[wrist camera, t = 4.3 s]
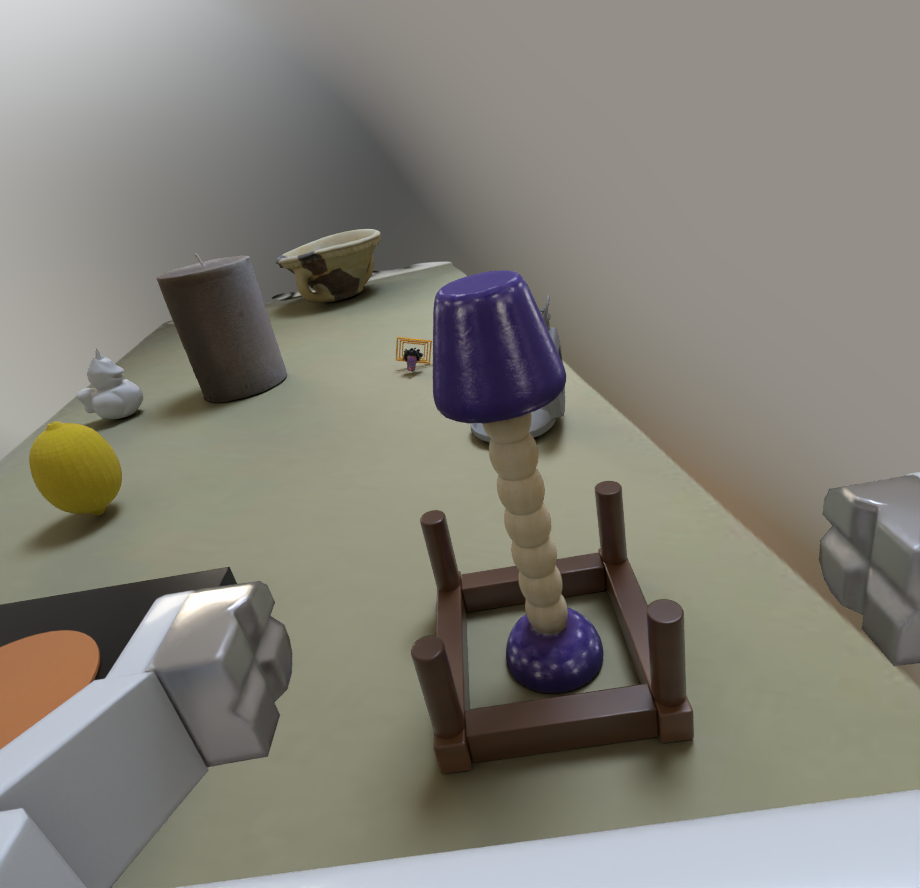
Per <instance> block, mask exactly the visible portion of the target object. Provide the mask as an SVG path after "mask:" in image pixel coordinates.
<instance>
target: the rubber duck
mask: <svg viewBox="0 0 920 888" xmlns="http://www.w3.org/2000/svg"><path fill="white" fill-rule="evenodd" d="M123 371H124V369H122V368H121V367H119V366H117V365H115V364H114V363H113V362H112V361H111V360H110V359H109V358H106V357H104V356H101V355H100V353H99V351H98V350H97V349H96V358H95V359H93V360H92V362H91V364H90V366H89V368H88V372H87V376H88V379H89V382H90V383H91V384H92V385H93V386H94V387H95V388H96V389H92V388H87V389H83V390H81V391H80V392H79V393H78V394H77V395H76V397H77V399H78V400H79V401H80V402H81V403H82V404H83V405H84V406H85V410H86V412H87V413H94V412H96V413H97V414H98V415H99V416H100V417H102V418H108V419H119V418H124V417H127V416H130V415H132V414H133V413H134V412H135V411H136V410H137V409H138V408H139V407H140V405H141V403H142V401H143V394H142V391H141V389H140V388H139V387H138V386H137V385H135V384H134V383H132V382H131V381H129V380H122V379H123V377H124V374H122V373H123Z"/></svg>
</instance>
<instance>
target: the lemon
mask: <svg viewBox="0 0 920 888" xmlns="http://www.w3.org/2000/svg"><path fill="white" fill-rule="evenodd" d="M29 463H30V469H31V473H32V477H33V479H34V482H35V484H36V486H37V488H38V489H39V491H40V492H41V494H42V495H43V496H44V497H45V498H46V499H47V500H48V501H49V502H50V503H51V504H52V505H54V506H55V507H57V508H59V509H60V510H63V511H65V512H70V513H75V514H84V513H90V514H93V515H101V514H103V513H104V512H105V510H106V508H107V505H108V504H109V503H110V502H111V501H112V500H113V499H114V498H115V497H116V495H117V493H118V491H119V489H120V487H121V482H122V471H121V466H120V463H119V460H118V458H117V455H116V454H115V452H114V450H113V449H112V447H111V446H110V445H109V443H108V442H107V441H106V440H105V439H104V438H103V437H102V436H101V435H100V434H99V433H98V432H96V431H95V430H93V429H92V428H89V427H87V426H84V425H80V424H74V423H64V424H63V423H60V422H58V421H55V422H52V423H50V424H48V426H47V428H46V430H45V431H44V432H42V433H41V434H40V435H39V436H38V437H37V439H36V440H35V441H34V443H33V445H32V447H31V450H30V455H29Z"/></svg>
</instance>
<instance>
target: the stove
mask: <svg viewBox="0 0 920 888" xmlns="http://www.w3.org/2000/svg"><path fill="white" fill-rule="evenodd" d="M235 584H237V583H236V581H235V578H234V576H233V574H232V572H231V569H230V567H225V568H219V569H213V570H207V571H201V572H195V573H189V574H183V575H177V576H171V577H165V578H159V579H153V580H147V581H141V582H135V583H129V584H123V585H117V586H111V587H105V588H99V589H93V590H87V591H81V592H75V593H69V594H63V595H56V596H50V597H44V598H38V599H32V600H26V601H20V602H14V603H8V604H2V605H0V750H1V749H2V748H3V747H5V746H6V745H7V744H9V743H10V742H11V741H13V740H14V739H15V738H17V737H18V736H20V735H21V734H22V733H24V732H25V731H26V730H28V729H29V728H30V727H32V726H33V725H34V724H36V723H37V722H39V721H40V720H41V719H43V718H44V717H45V716H47V715H48V714H49V713H51V712H52V711H53V710H55V709H56V708H58V707H59V706H60V705H62V704H63V703H64V702H66V701H67V700H68V699H70V698H71V697H72V696H74V695H75V694H77V693H78V692H79V691H81V690H82V689H83V688H85V687H86V686H87V685H89V684H90V683H91V682H93V681H94V680H100V679H105V678H106V676H107V675H108V673H109V672H110V670H111V669H112V667H113V666H114V664H115V662H116V661H117V659H118V658H119V656H120V655H121V653H122V652H123V650H124V648H125V647H126V645H127V644H128V642H129V641H130V639H131V638H132V636H133V634H134V633H135V631H136V630H137V628H138V627H139V625H140V623H141V622H142V620H143V619H144V617H145V616H146V614H147V613H148V611H149V609H150V608H151V606H152V605H153V603H154V602H155V600H156V599H158V598H160V597H162V596H164V595H168V594H174V593H180V592H186V591H196V590H199V589H206V588H213V587H220V586H227V585H235Z"/></svg>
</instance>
